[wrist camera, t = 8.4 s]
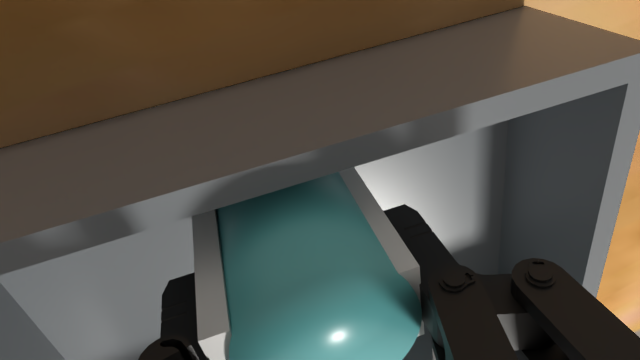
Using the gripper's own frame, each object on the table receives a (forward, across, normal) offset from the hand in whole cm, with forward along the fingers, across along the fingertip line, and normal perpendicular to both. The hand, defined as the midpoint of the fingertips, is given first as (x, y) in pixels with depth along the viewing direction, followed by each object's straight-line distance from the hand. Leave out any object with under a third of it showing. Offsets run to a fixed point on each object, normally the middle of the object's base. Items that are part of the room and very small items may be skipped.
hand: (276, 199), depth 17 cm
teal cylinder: (0, 0, 0) cm, 0 cm away
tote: (+1, 0, -4) cm, 4 cm away
